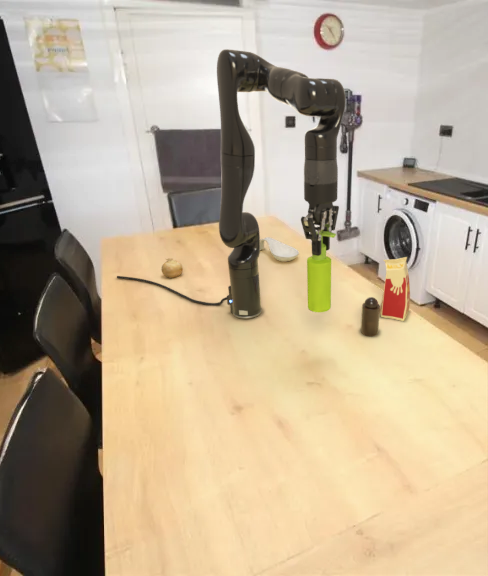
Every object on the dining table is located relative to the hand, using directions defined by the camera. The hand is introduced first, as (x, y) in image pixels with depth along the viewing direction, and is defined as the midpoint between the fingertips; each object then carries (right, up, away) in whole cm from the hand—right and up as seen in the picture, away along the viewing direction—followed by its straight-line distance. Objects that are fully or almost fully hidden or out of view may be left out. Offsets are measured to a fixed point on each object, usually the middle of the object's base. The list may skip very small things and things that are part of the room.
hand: (320, 251), depth 98 cm
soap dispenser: (0, -14, +7) cm, 15 cm away
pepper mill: (+15, -22, +26) cm, 37 cm away
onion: (-59, -4, +65) cm, 88 cm away
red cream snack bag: (+24, -17, +37) cm, 47 cm away
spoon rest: (-20, +5, +84) cm, 87 cm away
